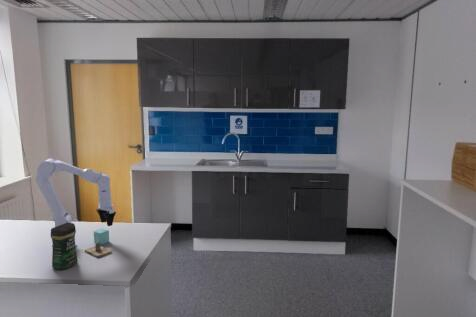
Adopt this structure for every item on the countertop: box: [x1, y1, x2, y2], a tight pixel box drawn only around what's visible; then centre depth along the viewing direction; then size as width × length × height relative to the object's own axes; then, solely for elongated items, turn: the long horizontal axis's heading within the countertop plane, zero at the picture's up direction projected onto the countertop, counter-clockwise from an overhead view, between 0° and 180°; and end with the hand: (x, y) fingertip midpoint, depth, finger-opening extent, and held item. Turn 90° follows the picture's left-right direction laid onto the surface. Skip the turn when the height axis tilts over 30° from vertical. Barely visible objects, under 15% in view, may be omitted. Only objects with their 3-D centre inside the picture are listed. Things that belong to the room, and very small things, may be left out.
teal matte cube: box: [93, 227, 110, 246], centre depth 167 cm, size 5×5×6 cm
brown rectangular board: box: [84, 242, 112, 259], centre depth 155 cm, size 11×7×5 cm, turn 54°
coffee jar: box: [50, 222, 78, 271], centre depth 141 cm, size 10×8×19 cm
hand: (106, 223), depth 166 cm, fingers open, 7 cm apart
